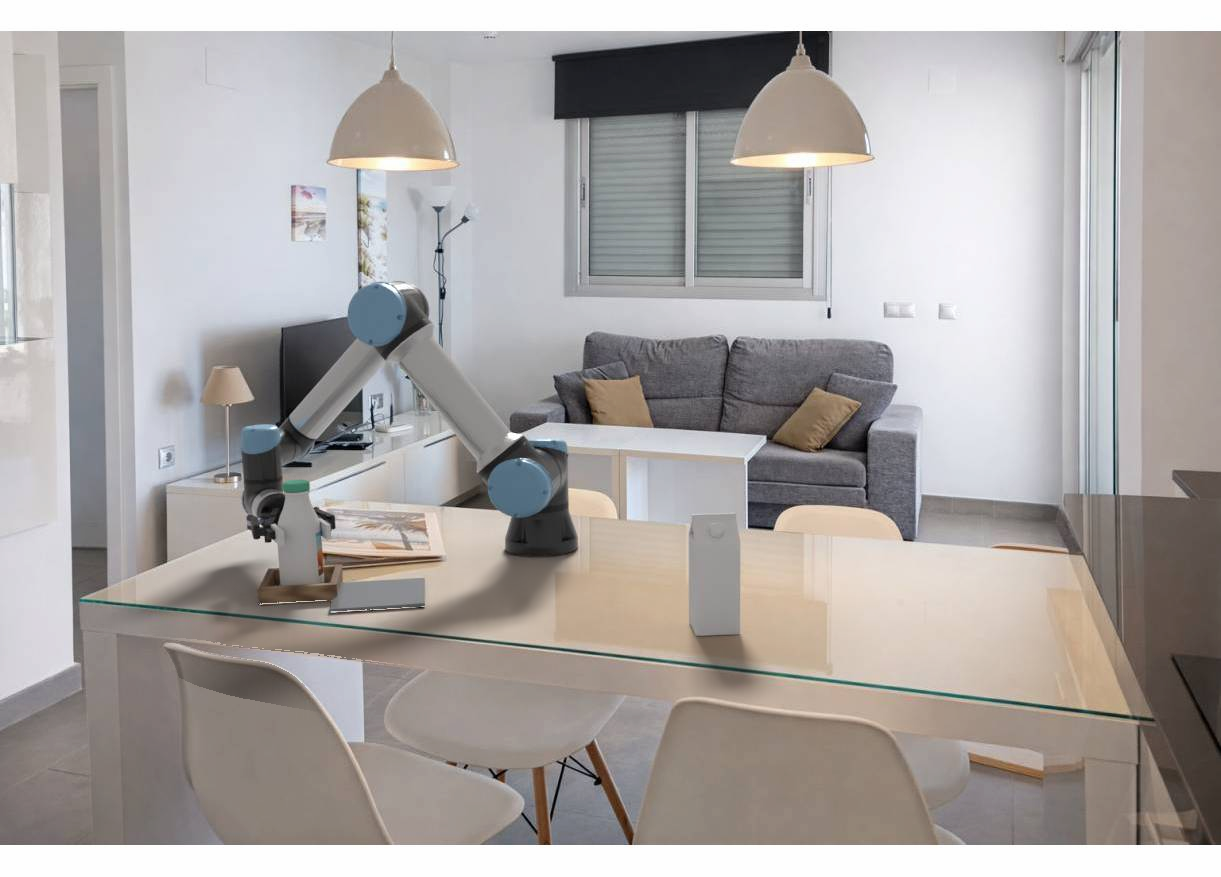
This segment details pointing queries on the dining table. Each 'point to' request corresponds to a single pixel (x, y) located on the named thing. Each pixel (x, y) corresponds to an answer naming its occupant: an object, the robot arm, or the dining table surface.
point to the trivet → (380, 594)
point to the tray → (300, 587)
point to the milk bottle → (300, 537)
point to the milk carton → (714, 574)
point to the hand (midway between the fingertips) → (305, 535)
